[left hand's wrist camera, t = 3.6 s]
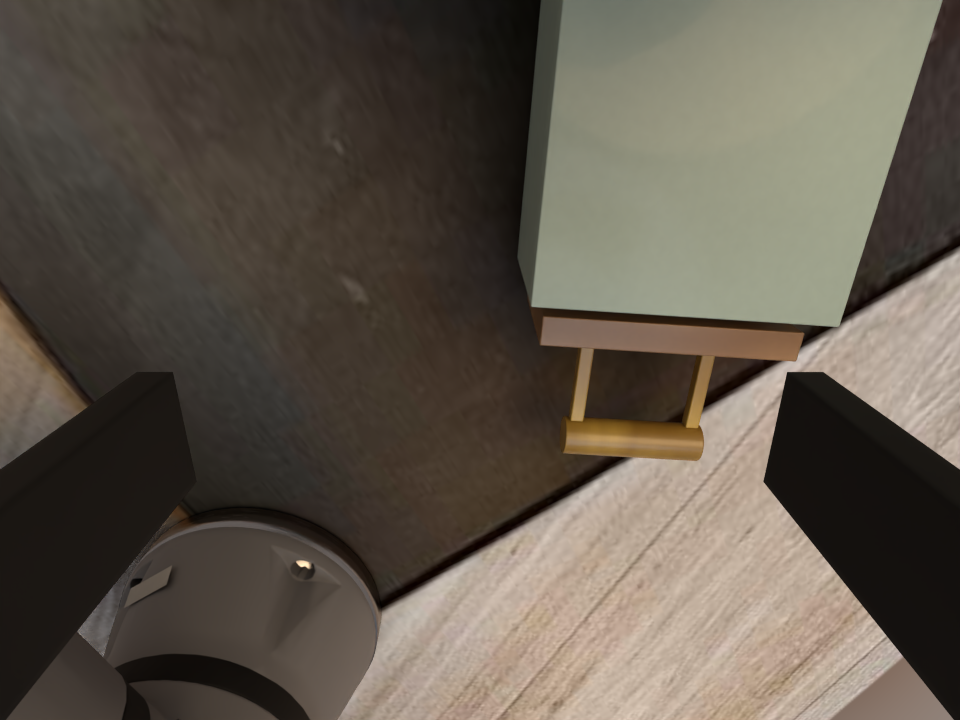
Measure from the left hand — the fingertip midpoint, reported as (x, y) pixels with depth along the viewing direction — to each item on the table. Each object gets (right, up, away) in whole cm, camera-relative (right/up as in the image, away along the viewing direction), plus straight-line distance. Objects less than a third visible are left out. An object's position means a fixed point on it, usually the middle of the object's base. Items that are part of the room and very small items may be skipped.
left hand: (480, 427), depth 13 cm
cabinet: (+8, +14, +13) cm, 21 cm away
